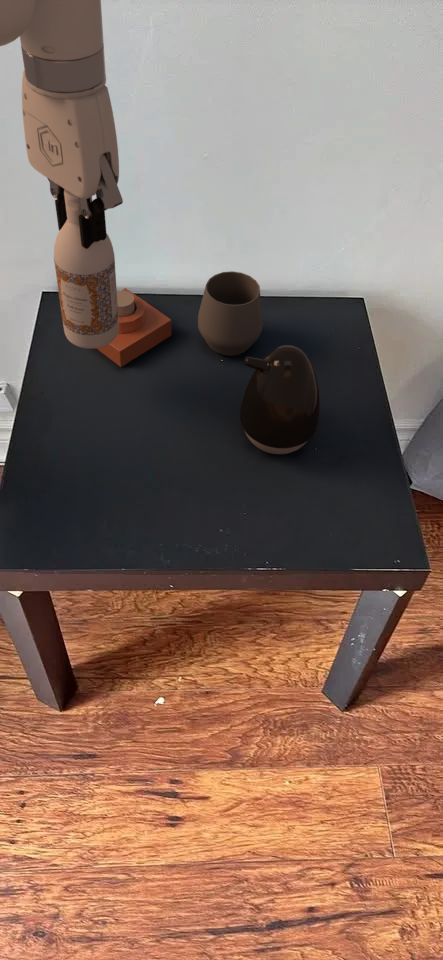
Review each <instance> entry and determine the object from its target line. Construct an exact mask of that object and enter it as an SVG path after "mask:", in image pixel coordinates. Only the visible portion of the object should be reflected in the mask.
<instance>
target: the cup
mask: <svg viewBox="0 0 443 960" xmlns="http://www.w3.org/2000/svg"><path fill="white" fill-rule="evenodd" d="M263 327H264V320H263V310H262V299H261V287H260V284H259V283H258V282H257V280H256V279H255V278H254V277H252V276H250V275H249V274H246V273H243V272H239V271H232V270H231V271H222V272H219V273H216V274H214V275H212V276H211V277H210V278H209V279H208V280H207V281H206V284H205V287H204V291H203V295H202V298H201V303H200V307H199V311H198V314H197V328H198V331H199V333H200V334H201V336H202V338H203V340H204V341H205V343H206V344H207V346H208V347H209V348H210V349H211V350H212V351H213V352H214V353H217V354H219V355H222V356H226V357H227V356H228V357H231V356H232V357H234V356H239V355H241V354H244V353H245V352H246V351H247V350H249V349H250V348H251V346H252V345H253V344H254V343H255V342H256V341H257V340H258V339H259V337H260V335H261V333H262V332H263Z"/></svg>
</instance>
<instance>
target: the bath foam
mask: <svg viewBox="0 0 443 960" xmlns="http://www.w3.org/2000/svg"><path fill="white" fill-rule="evenodd" d="M64 196H65V205H66V213H67V220H66V221H65V223H64V225H63V227H62V228H61V230H60V231H59V230H58V233H57V235H56V238H55V241H54V246H53V261H54V269H55V275H56V283H57V290H58V291H57V292H58V299H59V305H60V312H61V320H62V326H63V333H64V335H65V337H66V339H67V340H68V341H69V342H70V343H71V344H72V345H74V346H75V347H77V348H81V349H86V350H87V349H88V350H95V349H96V348H101V347H104V346H106V345H108V344H110V343H111V342H112V341H113V340H114V339H115V338H116V336H117V335H118V331H119V322H118V304H117V291H118V289H117V275H116V274H117V273H116V259H115V257H116V256H115V252H114V246H113V244H112V241H111V238H110V236H109V234H108V233H107V232H106V234H107V237H106V239H105V240H100V241H98V242H94V243H93V244H92V245H91V246H90V247H89V248H88V249H85V248H84V247H83V246H82V244H81V236H80V227H79V217H78V216H79V215H81V214H82V211H81V206H80V200H79V197H77V196H75V195H74V194H72V193H70V192H69V191H67V190H65V189H64ZM92 201H93V196H91V197H90V202H92ZM96 350H97V349H96Z"/></svg>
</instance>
